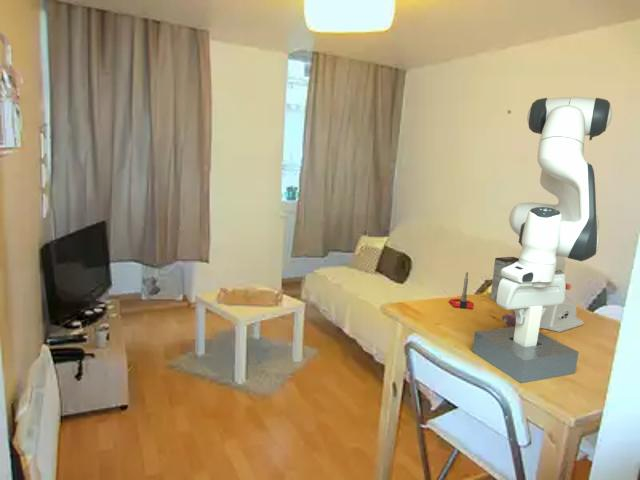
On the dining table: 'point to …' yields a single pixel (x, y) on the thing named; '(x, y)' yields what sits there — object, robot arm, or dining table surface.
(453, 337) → the dining table surface
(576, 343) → the dining table surface
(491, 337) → the socket block
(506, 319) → the video game controller
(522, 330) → the peg
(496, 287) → the coffee box
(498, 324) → the dining table surface
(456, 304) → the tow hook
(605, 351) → the dining table surface
